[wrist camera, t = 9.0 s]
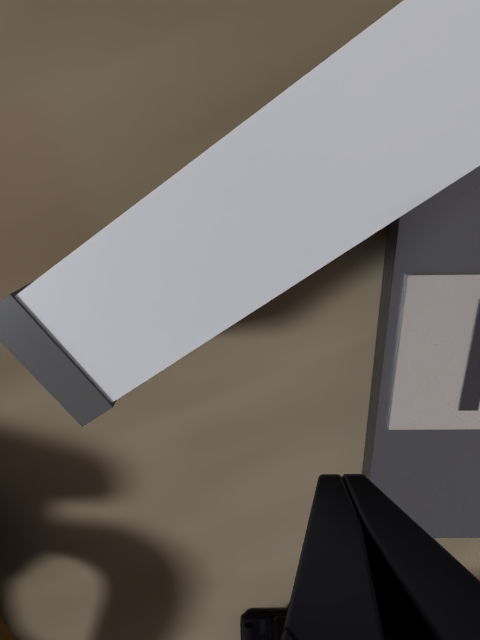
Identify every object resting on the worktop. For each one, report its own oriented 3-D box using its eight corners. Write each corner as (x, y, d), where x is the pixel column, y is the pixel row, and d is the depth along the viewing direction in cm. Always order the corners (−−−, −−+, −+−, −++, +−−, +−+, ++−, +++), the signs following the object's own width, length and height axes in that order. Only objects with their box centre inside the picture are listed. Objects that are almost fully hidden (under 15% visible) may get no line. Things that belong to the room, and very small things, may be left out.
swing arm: (578, -123, 11) (753, -274, 7) (627, 27, 13) (801, -35, 9) (46, 278, 15) (-22, 318, 12) (121, 364, 17) (82, 427, 13)
